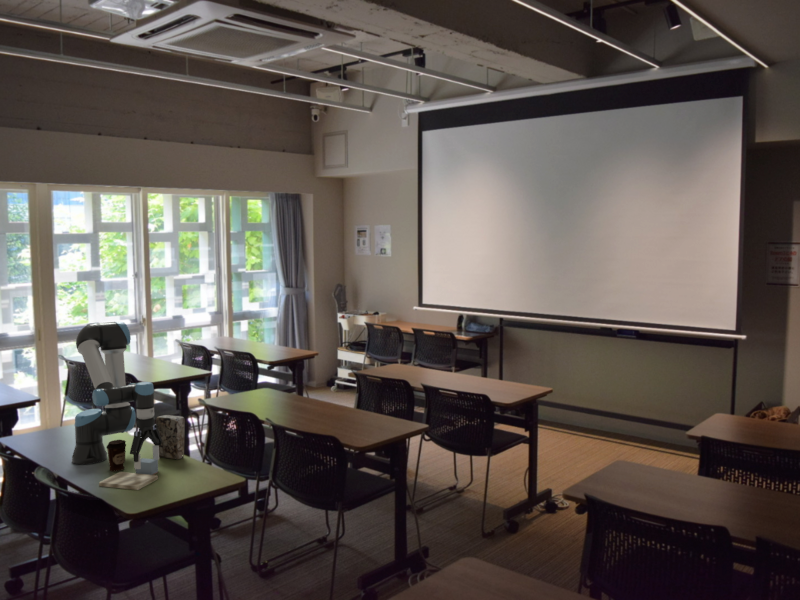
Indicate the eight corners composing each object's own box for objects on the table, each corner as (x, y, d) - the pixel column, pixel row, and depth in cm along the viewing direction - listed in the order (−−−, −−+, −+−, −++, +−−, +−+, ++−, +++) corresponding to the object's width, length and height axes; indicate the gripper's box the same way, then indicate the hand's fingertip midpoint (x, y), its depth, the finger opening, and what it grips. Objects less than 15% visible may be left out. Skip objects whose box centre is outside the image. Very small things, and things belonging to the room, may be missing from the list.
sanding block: (135, 474, 299) (135, 461, 298) (142, 471, 303) (142, 458, 303) (151, 476, 297) (151, 463, 296) (158, 472, 301) (157, 459, 301)
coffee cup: (131, 467, 307) (130, 440, 306) (118, 473, 300) (117, 445, 299) (116, 465, 310) (115, 438, 309) (103, 471, 302) (102, 443, 301)
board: (98, 485, 284) (98, 482, 284) (120, 475, 298) (120, 471, 297) (138, 490, 279) (138, 486, 279) (158, 478, 293) (157, 475, 293)
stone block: (186, 456, 324) (185, 415, 323) (178, 460, 318) (177, 419, 316) (163, 454, 328) (162, 413, 327) (154, 458, 321) (153, 417, 320)
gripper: (135, 424, 285) (137, 473, 286) (169, 411, 309) (170, 456, 310) (120, 423, 287) (121, 472, 288) (154, 410, 311) (156, 455, 312)
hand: (147, 464), depth 299 cm, fingers open, 13 cm apart
